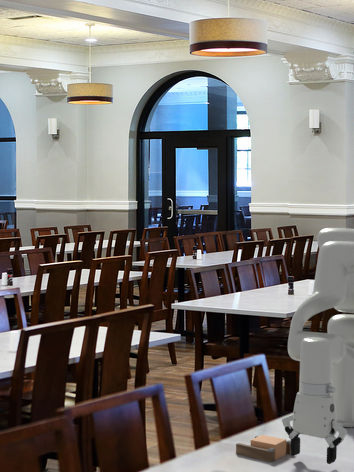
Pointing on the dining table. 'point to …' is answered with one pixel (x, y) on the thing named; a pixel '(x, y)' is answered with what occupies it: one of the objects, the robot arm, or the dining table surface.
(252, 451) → the brown wooden rail pair
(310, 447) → the dining table surface
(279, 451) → the light orange block
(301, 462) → the dining table surface
